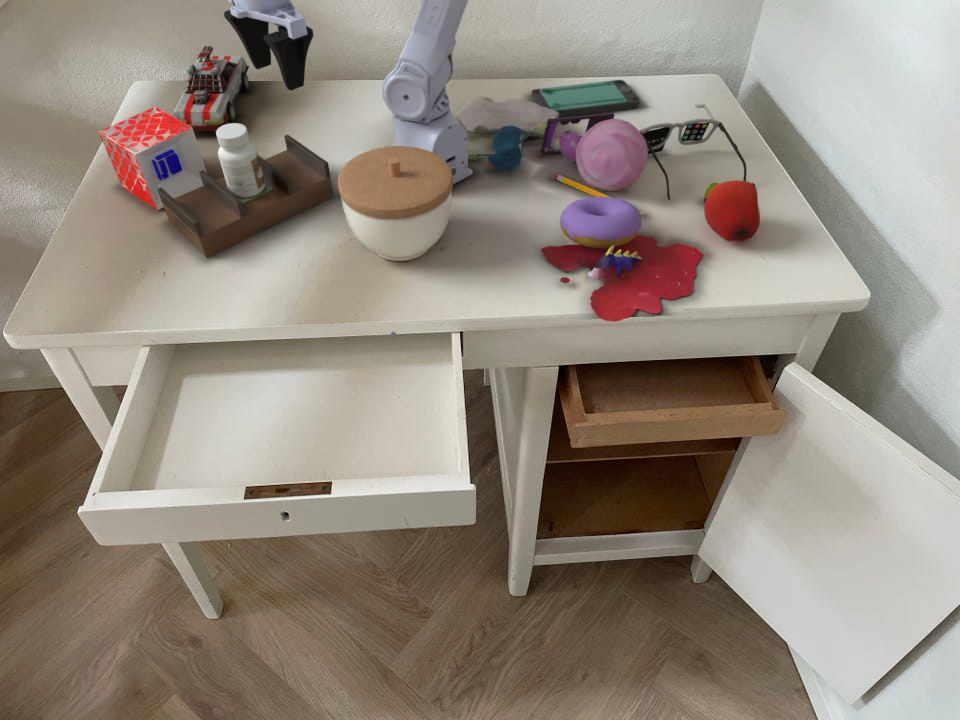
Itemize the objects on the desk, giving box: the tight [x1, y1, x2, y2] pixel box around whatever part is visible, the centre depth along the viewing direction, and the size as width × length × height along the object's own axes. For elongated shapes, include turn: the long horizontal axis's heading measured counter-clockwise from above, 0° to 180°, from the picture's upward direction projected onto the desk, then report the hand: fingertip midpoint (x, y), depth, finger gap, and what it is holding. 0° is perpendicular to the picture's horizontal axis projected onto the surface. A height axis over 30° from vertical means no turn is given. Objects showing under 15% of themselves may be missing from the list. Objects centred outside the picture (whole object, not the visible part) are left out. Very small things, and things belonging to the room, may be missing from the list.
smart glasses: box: [638, 103, 748, 201], centre depth 95 cm, size 12×14×5 cm
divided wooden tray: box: [157, 134, 335, 259], centre depth 87 cm, size 9×18×5 cm, turn 133°
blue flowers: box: [468, 121, 547, 171], centre depth 95 cm, size 12×4×8 cm
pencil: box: [553, 173, 645, 215], centre depth 91 cm, size 1×13×1 cm, turn 52°
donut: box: [559, 196, 643, 248], centre depth 83 cm, size 10×9×5 cm
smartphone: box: [530, 79, 641, 118], centre depth 107 cm, size 7×1×15 cm
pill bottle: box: [215, 122, 265, 198], centre depth 84 cm, size 4×4×8 cm
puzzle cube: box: [98, 106, 208, 211], centre depth 90 cm, size 8×8×8 cm
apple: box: [703, 179, 761, 242], centre depth 85 cm, size 8×7×10 cm
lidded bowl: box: [337, 145, 454, 262], centre depth 81 cm, size 13×13×11 cm
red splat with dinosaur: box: [540, 234, 704, 323], centre depth 81 cm, size 18×15×5 cm
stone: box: [456, 95, 560, 138], centre depth 101 cm, size 11×3×15 cm
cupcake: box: [575, 118, 649, 192], centre depth 91 cm, size 9×9×10 cm
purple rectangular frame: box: [539, 111, 615, 162], centre depth 95 cm, size 7×5×9 cm
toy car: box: [171, 45, 250, 131], centre depth 103 cm, size 8×18×8 cm, turn 0°
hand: (278, 76), depth 91 cm, fingers open, 7 cm apart
